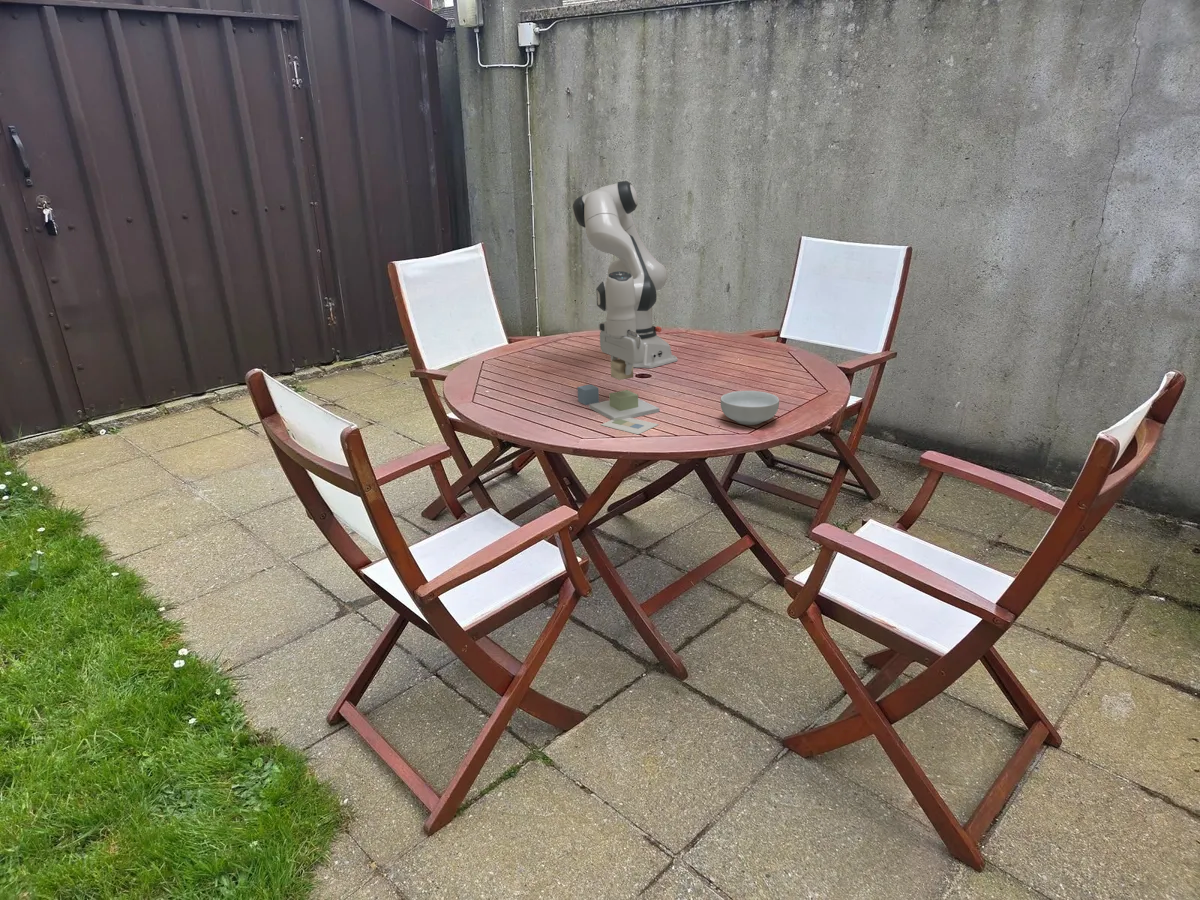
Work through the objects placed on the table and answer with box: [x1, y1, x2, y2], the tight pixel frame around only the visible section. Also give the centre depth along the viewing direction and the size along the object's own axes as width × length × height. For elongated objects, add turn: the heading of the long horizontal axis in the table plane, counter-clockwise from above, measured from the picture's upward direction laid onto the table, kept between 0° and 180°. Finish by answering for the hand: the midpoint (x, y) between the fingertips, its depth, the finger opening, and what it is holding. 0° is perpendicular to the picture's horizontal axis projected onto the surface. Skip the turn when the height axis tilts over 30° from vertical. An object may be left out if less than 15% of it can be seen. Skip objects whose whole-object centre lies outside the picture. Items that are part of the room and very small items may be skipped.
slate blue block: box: [577, 383, 600, 406], centre depth 242 cm, size 5×5×5 cm
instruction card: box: [600, 417, 659, 435], centre depth 220 cm, size 10×14×1 cm
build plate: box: [588, 389, 660, 421], centre depth 233 cm, size 16×16×5 cm
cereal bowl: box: [720, 390, 780, 426], centre depth 219 cm, size 17×17×7 cm
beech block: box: [610, 358, 634, 381], centre depth 229 cm, size 5×5×5 cm
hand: (622, 372), depth 229 cm, fingers closed on beech block, 5 cm apart
